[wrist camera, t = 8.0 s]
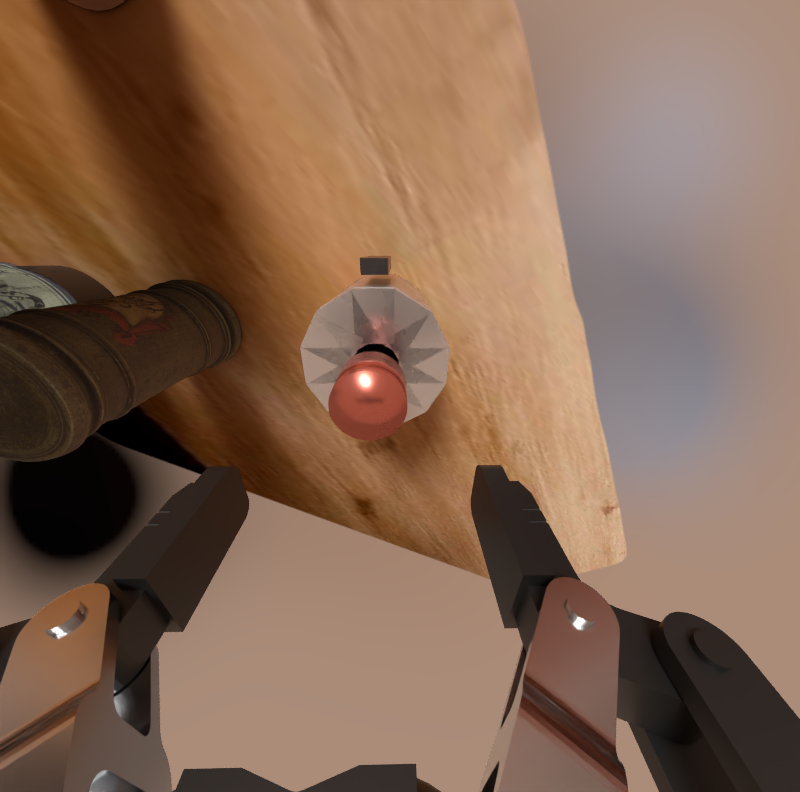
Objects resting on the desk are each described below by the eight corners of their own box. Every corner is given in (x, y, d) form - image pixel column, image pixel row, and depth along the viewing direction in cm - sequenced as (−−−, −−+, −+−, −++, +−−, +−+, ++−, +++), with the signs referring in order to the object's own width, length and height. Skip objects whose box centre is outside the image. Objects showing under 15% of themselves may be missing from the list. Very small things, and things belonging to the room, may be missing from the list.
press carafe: (330, 255, 28) (283, 257, 16) (433, 256, 28) (459, 258, 17) (340, 367, 33) (311, 428, 22) (427, 367, 33) (443, 428, 22)
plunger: (345, 290, 28) (283, 337, 13) (418, 291, 28) (444, 338, 13) (350, 360, 31) (306, 463, 16) (416, 360, 31) (434, 463, 16)
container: (255, 355, 32) (117, 456, 16) (182, 368, 33) (-19, 478, 17) (219, 271, 28) (-12, 295, 12) (136, 288, 29) (-184, 332, 13)
